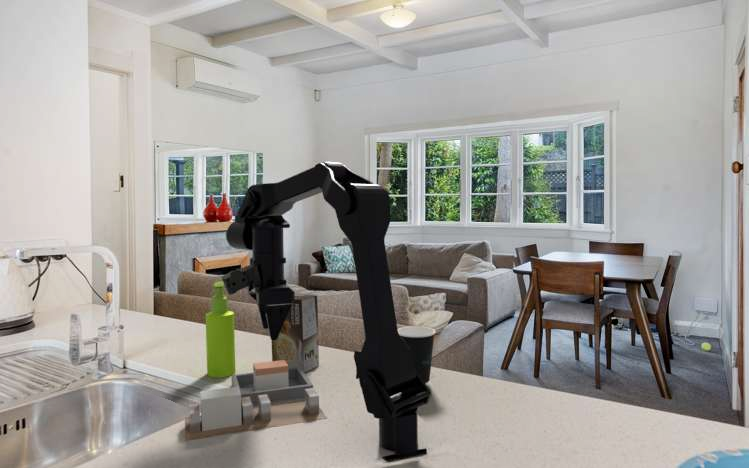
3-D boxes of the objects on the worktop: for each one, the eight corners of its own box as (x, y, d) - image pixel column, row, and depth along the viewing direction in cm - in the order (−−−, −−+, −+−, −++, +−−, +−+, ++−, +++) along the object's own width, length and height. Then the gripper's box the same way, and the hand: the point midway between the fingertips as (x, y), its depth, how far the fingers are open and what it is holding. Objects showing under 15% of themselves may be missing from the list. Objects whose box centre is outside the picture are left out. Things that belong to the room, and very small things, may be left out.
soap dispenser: (206, 380, 108) (203, 285, 107) (207, 370, 115) (205, 280, 114) (235, 377, 110) (233, 283, 109) (235, 367, 116) (233, 279, 115)
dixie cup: (438, 391, 100) (438, 335, 100) (397, 392, 100) (396, 335, 99) (433, 377, 108) (432, 325, 108) (395, 378, 108) (394, 326, 107)
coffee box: (320, 365, 118) (319, 294, 117) (304, 373, 112) (302, 299, 111) (287, 360, 122) (286, 292, 121) (270, 367, 116) (268, 296, 115)
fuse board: (327, 424, 86) (326, 400, 86) (185, 446, 78) (184, 421, 78) (314, 404, 94) (313, 382, 94) (185, 423, 87) (184, 400, 86)
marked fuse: (288, 391, 98) (288, 365, 98) (256, 396, 96) (255, 369, 96) (284, 384, 102) (284, 359, 102) (253, 388, 100) (253, 363, 100)
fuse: (241, 424, 83) (240, 394, 83) (202, 431, 81) (201, 399, 81) (239, 415, 87) (238, 386, 87) (201, 421, 85) (200, 391, 85)
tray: (313, 401, 96) (313, 385, 96) (237, 412, 91) (237, 395, 91) (300, 381, 107) (299, 366, 107) (231, 390, 102) (231, 375, 102)
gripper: (220, 249, 103) (222, 327, 104) (227, 258, 86) (230, 351, 87) (276, 247, 107) (277, 322, 108) (294, 255, 90) (296, 344, 91)
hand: (269, 333), depth 98 cm, fingers open, 9 cm apart
